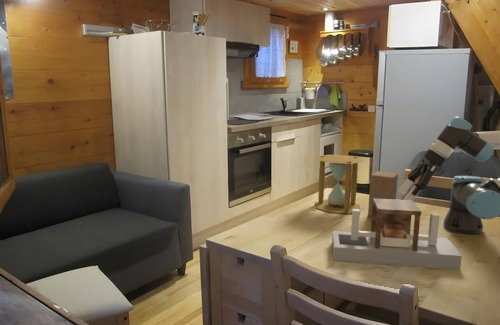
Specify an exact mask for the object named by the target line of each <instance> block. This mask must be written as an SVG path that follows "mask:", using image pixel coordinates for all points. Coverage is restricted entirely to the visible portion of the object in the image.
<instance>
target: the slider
mask: <svg viewBox="0 0 500 325" xmlns="http://www.w3.org/2000/svg"><path fill="white" fill-rule="evenodd" d="M351 214H352V215H351V227H350V228H351V229H350V232H351V240H358V236H359V237H375V235H376V232H371V230H368V231H367V230H359V228H360V214H361V209H360V210H359V209H352V213H351ZM428 224H429V226H428V234H420V233H419V236H418V240H422V241H428V243H429V245H437V237H438V236H439V235H438V233H439V226H440V214H439V213H437V212H436V213H435V212H434V213H433V212H430V214H429V223H428ZM410 240H413V233H410V234H407V233H406V231H405V230H404V238H391V237H383V228H381V234H380V245H381V246H392V247H407V248H409V247H410Z"/></svg>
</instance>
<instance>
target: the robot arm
mask: <svg viewBox="0 0 500 325" xmlns="http://www.w3.org/2000/svg"><path fill="white" fill-rule="evenodd" d="M472 128H473V126H472V123H470V122H468V120H466V119H464V118H462V117H461V116H454V117H453V118H451V120H449V122H448V123H447V124H446V125H445V127H444V128H443V130H442V131H441V132H440V133H439V135H438V137H437V138H435V140H433V141H432V144H431V145H430V148H428V149H427V150H426V151H425V152H424V154H423V157H424V158H425V159H426V160H425V159H422V160H421V161H420V163H419V164H418V165H416V167H414V169H412V171H410V173H408V175H407V179H405V181H404V183H403V184H402V185H401V186H400V187H399V189H398V190H397V192H398V193H399V194H401V195H403V196H404V195H405V194H406V193H407V191H408V190H409V189H410V188H411V187H412V185H413V184H414V183H415V184H414V186H413V187H412V189H411V190H410V191H409V192H408V193H407V194H406V196H405V197H403V198H404V199H403V200H413V201H414V199H416V197H417V196H418V194H419V193H420V192H421V191H422V190H425V189H426V188H427V186H428V185H429V182H430V181H431V179H432V177H433V175H434V174H435V173H436V171H437V169H438V167H439V168H440V167H442V166H443V164H444V163H445V162H446V160H447V159H448V158H450V156H451V154H452V153H453V152H454V151H458V152H462V153H464V154H466V155H468V156H469V157H470V158H473V159H474V160H475V161H478V162H480V163H483V162H486V161H487V160H489V159H490V157H492V155H493V154H494V151H495V150H500V130H493V131H492V130H491V131H474V132H473V131H471V129H472ZM436 166H438V167H436ZM417 179H418V180H417ZM416 180H417V182H416ZM449 199H450V202H449V209H448V211H447V214H446V215H445V217H444V219H443V223H442V225H443V228H444V229H445V230H448V231H450V232H453V233H457V234H460V235H470V236H472V235H475V236H476V235H481V234H482V233H483V232H482V231H483V229H484V225H483V220H491V219H492V220H493V219H495V218H497V217H500V177H498V178H497V179H496V178H488V179H486V180H485V179H484V178H483V177H481V176H476V175H475V176H472V175H455V176H454V177H453V178H452V182H451V191H450V198H449Z"/></svg>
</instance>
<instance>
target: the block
mask: <svg viewBox="0 0 500 325" xmlns="http://www.w3.org/2000/svg"><path fill="white" fill-rule="evenodd" d="M383 237H391V238H404V229H403V227H402V225H401V224H384V229H383Z"/></svg>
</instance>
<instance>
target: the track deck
mask: <svg viewBox="0 0 500 325" xmlns="http://www.w3.org/2000/svg"><path fill="white" fill-rule="evenodd" d="M331 240H332V241H331V244H332V245H331V248H332V257H333V261H334V262H335V261H338V262H348V263H364V264H373V265H375V264H379V265H390V266H404V267H418V268H431V269H444V270H445V269H446V270H448V269H449V270H456V271H457V270H461V266H462V260H463V259H462V258H463V255H462V254H461V253H460V252H459V251H458V249H457V248H456V247H455V245H454V244H453V242H452V241H451V240H450V239H449V238H448V237H438V236H437V245H429V243H428V241H422V240H418V246H417V251H412V243H413V240H410V247H409V248H407V247H392V246H381V245H380V248H379V249H377V248H375V237H359V236H358V240H351V231H341V230H340V231H337V230H333V231H332V239H331Z"/></svg>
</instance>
